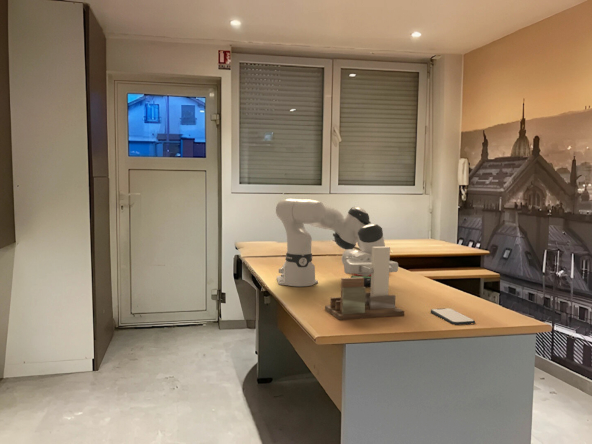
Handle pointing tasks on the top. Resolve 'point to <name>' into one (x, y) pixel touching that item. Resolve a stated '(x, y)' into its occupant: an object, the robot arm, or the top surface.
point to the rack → (367, 307)
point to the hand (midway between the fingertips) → (381, 270)
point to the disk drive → (365, 280)
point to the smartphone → (452, 316)
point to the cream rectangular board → (380, 271)
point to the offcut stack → (352, 295)
